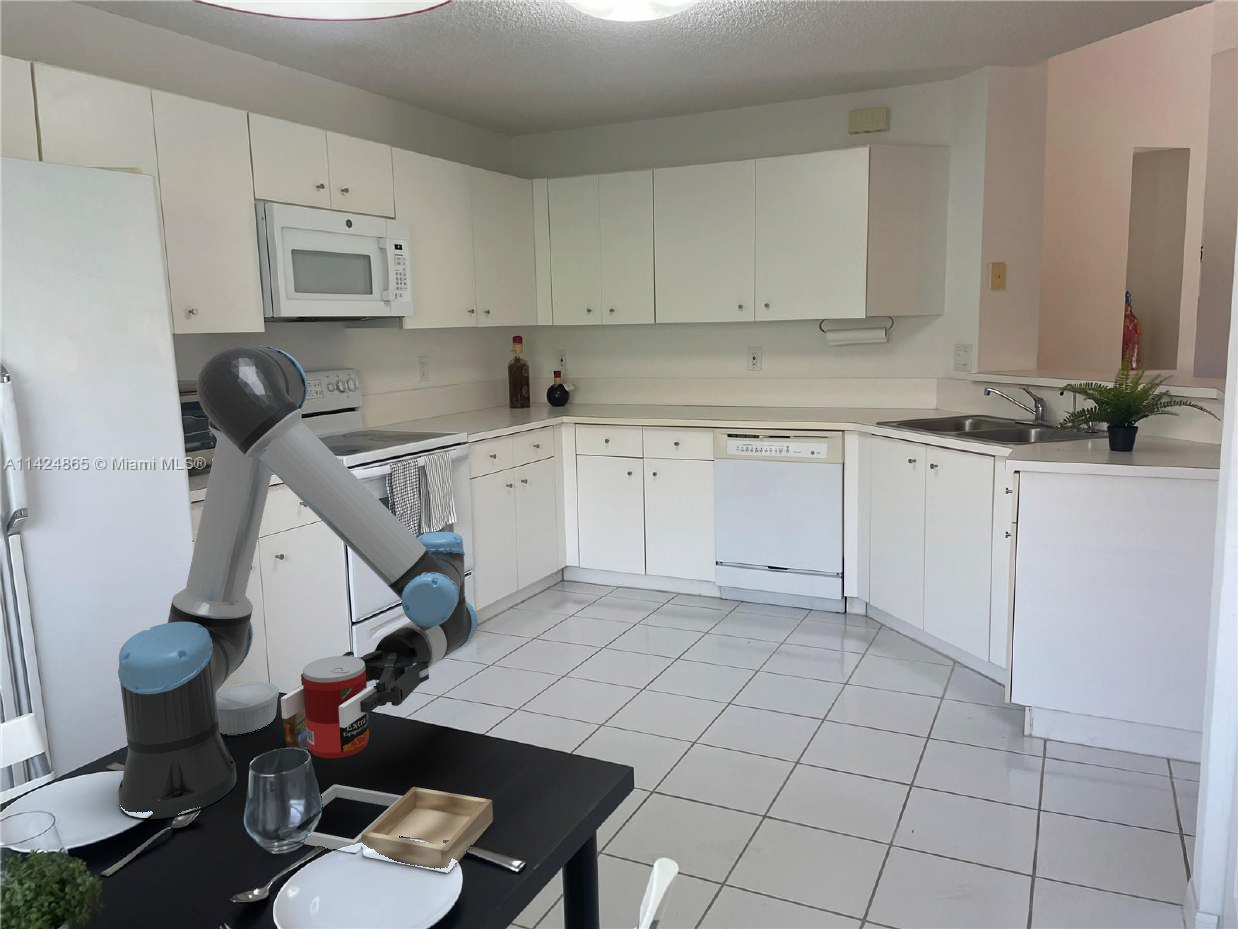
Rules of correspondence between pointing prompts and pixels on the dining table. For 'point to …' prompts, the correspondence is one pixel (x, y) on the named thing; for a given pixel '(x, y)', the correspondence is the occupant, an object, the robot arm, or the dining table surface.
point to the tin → (296, 730)
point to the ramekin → (246, 707)
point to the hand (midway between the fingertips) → (312, 712)
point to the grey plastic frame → (352, 794)
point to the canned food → (333, 706)
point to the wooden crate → (429, 827)
